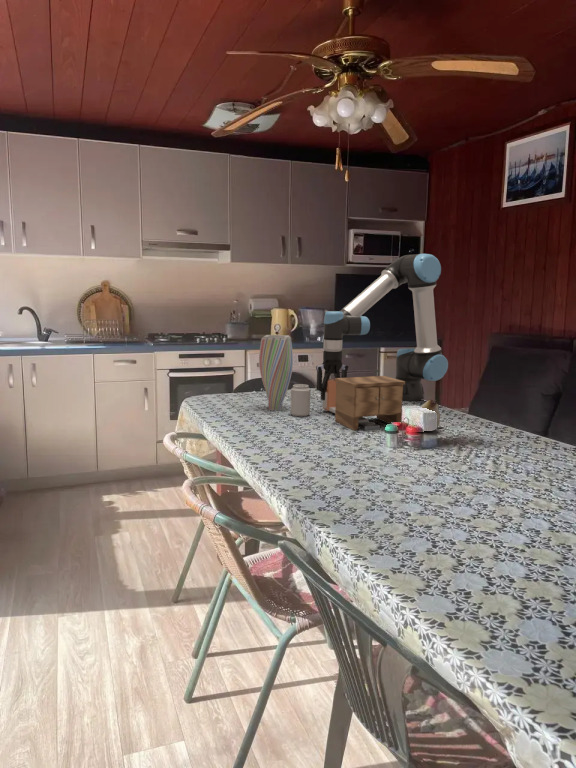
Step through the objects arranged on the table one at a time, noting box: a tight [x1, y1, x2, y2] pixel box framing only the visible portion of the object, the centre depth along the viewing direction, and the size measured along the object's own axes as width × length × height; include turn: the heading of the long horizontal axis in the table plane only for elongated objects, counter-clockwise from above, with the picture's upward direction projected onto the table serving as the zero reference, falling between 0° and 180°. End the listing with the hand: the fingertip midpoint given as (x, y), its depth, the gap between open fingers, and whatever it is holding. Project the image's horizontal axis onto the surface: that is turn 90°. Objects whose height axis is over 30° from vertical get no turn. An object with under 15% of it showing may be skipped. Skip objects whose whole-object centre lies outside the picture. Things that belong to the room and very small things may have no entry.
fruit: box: [419, 398, 441, 428], centre depth 207 cm, size 10×9×12 cm
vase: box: [258, 334, 294, 411], centre depth 239 cm, size 14×14×30 cm
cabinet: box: [334, 375, 405, 431], centre depth 215 cm, size 21×15×16 cm
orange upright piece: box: [322, 378, 369, 423], centre depth 225 cm, size 29×5×12 cm, turn 22°
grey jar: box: [290, 383, 311, 418], centre depth 229 cm, size 8×8×12 cm
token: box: [358, 421, 381, 432], centre depth 210 cm, size 6×6×2 cm
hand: (331, 407), depth 237 cm, fingers closed on orange upright piece, 5 cm apart
